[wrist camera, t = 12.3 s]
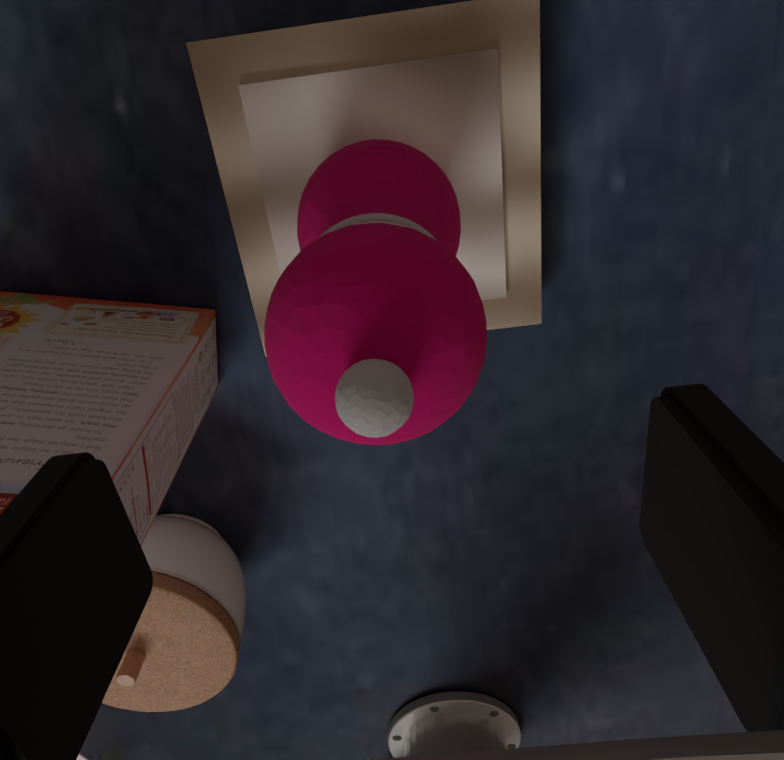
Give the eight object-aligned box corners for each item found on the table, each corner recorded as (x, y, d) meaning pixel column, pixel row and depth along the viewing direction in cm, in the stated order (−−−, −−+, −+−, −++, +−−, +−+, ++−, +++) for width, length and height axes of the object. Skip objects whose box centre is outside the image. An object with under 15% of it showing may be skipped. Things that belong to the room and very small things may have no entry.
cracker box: (3, 373, 38) (-351, 663, 20) (-17, 284, 35) (-452, 527, 17) (223, 392, 39) (78, 687, 21) (220, 306, 36) (49, 562, 18)
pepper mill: (301, 129, 28) (167, 256, 11) (453, 125, 28) (565, 247, 11) (314, 275, 32) (229, 549, 14) (449, 271, 32) (529, 541, 14)
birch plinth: (530, 304, 36) (543, 326, 33) (274, 335, 37) (264, 359, 34) (525, -3, 29) (541, -11, 26) (203, 44, 30) (183, 42, 27)
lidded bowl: (238, 621, 50) (202, 758, 40) (84, 581, 47) (6, 716, 38) (283, 514, 44) (254, 642, 34) (111, 462, 42) (28, 584, 32)
